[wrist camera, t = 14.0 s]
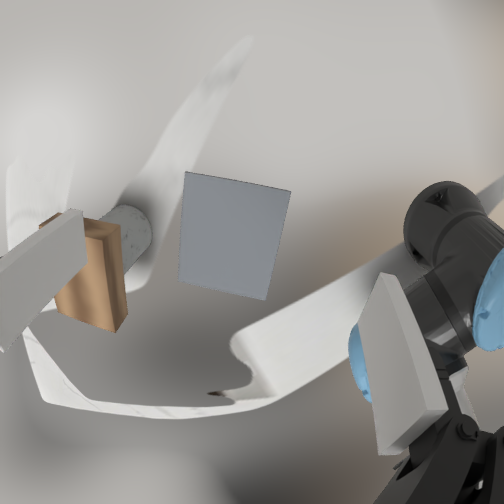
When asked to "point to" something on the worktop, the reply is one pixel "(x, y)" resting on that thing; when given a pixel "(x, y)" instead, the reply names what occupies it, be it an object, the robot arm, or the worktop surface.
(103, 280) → the board
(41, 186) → the worktop surface
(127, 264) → the grey speckled cylinder
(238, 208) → the mat
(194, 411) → the worktop surface
